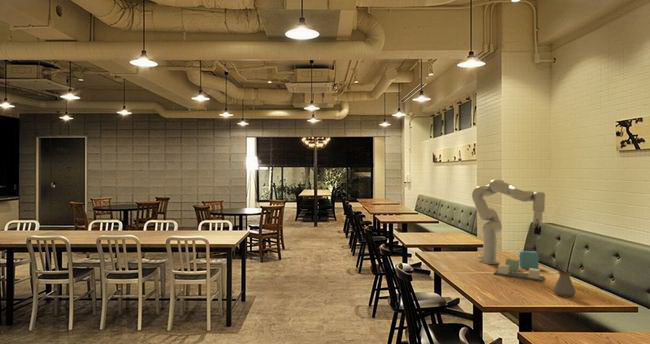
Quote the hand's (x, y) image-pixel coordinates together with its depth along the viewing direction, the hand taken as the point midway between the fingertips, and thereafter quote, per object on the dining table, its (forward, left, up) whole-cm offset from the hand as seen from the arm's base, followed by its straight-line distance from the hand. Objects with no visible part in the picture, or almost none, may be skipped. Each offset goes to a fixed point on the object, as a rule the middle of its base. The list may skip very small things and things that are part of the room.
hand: (537, 233), depth 310 cm
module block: (-14, -10, -27) cm, 33 cm away
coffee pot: (+21, -50, -28) cm, 61 cm away
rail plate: (-7, -25, -27) cm, 38 cm away
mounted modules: (-7, -25, -26) cm, 37 cm away
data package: (-6, +8, -28) cm, 29 cm away
